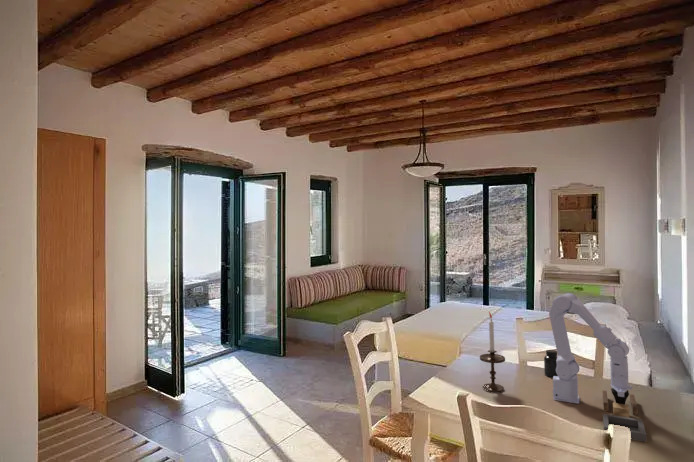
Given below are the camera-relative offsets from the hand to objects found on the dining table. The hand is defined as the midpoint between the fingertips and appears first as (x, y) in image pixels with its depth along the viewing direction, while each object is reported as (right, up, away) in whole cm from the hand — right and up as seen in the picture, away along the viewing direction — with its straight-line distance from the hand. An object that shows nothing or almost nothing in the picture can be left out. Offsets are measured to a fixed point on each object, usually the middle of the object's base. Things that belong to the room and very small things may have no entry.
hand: (620, 408), depth 161 cm
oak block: (-2, -2, -3) cm, 4 cm away
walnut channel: (+3, -1, +6) cm, 7 cm away
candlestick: (-40, -3, +27) cm, 48 cm away
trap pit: (-8, -2, -14) cm, 16 cm away
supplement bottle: (-6, -2, +42) cm, 43 cm away
